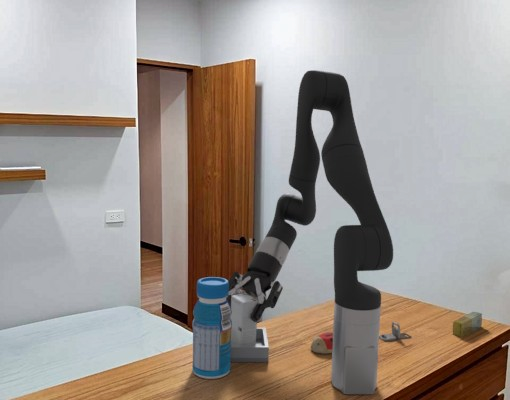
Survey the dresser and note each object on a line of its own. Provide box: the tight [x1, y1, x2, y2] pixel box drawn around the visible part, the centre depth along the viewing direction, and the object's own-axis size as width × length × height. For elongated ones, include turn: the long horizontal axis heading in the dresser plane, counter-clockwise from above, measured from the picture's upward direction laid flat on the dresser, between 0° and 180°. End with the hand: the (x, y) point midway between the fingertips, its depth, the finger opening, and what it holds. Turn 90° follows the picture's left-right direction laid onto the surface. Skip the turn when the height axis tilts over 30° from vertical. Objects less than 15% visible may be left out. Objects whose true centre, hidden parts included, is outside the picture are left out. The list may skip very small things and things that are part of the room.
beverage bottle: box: [191, 276, 232, 380], centre depth 104 cm, size 8×8×20 cm
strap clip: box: [379, 321, 412, 342], centre depth 127 cm, size 8×3×4 cm, turn 111°
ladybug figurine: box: [310, 331, 333, 355], centre depth 119 cm, size 7×10×4 cm
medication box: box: [452, 311, 483, 338], centre depth 133 cm, size 12×3×4 cm, turn 132°
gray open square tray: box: [230, 327, 270, 363], centre depth 116 cm, size 12×12×4 cm
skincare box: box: [230, 293, 259, 346], centre depth 116 cm, size 6×4×12 cm
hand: (238, 315), depth 114 cm, fingers open, 8 cm apart
